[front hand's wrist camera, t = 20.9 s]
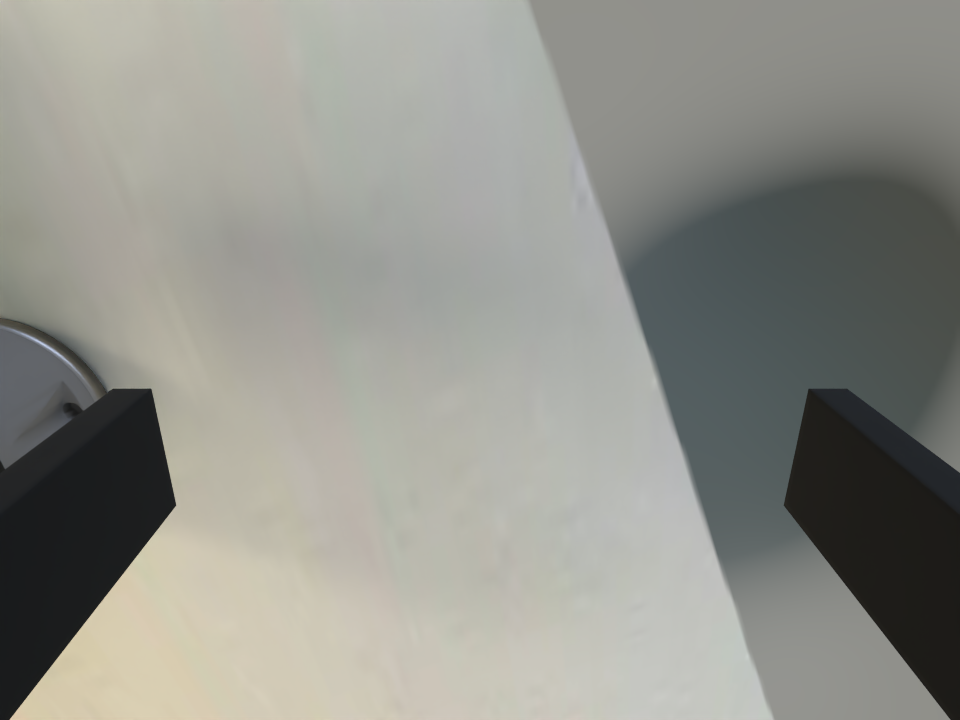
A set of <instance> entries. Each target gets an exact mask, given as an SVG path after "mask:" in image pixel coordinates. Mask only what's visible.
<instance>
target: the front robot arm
mask: <svg viewBox="0 0 960 720" xmlns="http://www.w3.org/2000/svg"><path fill="white" fill-rule="evenodd" d="M175 506H176V502H175V497H174V493H173V488H172V483H171V479H170V474H169V469H168V465H167V460H166V455H165V451H164V446H163V441H162V436H161V432H160V427H159V422H158V418H157V413H156V408H155V404H154V399H153V394H152V390H151V389H112V390H111V391H109V392H108V393H106V392H105V390H104V388H103V386H102V385H101V383H100V382H99V380H98V379H97V377H96V376H95V375H94V373H93V372H92V371H91V370H90V369H89V367H88V366H87V365H86V364H85V363H84V362H83V361H82V360H81V359H80V358H79V357H78V356H77V355H76V354H74V353H73V352H72V351H71V350H70V349H68V348H67V347H66V346H64V345H63V344H62V343H60V342H58V341H57V340H55V339H54V338H52V337H50V336H49V335H47V334H45V333H43V332H41V331H39V330H37V329H34V328H32V327H30V326H27V325H24V324H21V323H18V322H14V321H11V320H6V319H1V318H0V720H10V718H11V717H12V716H13V714H14V713H15V712H16V711H17V709H18V708H19V707H20V705H21V704H22V703H23V702H24V700H25V699H26V698H27V696H28V695H29V694H30V693H31V691H32V690H33V689H34V687H35V686H36V685H37V684H38V682H39V681H40V680H41V678H42V677H43V676H44V675H45V673H46V672H47V671H48V669H49V668H50V667H51V666H52V664H53V663H54V662H55V660H56V659H57V658H58V657H59V655H60V654H61V653H62V651H63V650H64V649H65V648H66V646H67V645H68V644H69V642H70V641H71V640H72V639H73V637H74V636H75V635H76V633H77V632H78V631H79V630H80V628H81V627H82V626H83V624H84V623H85V622H86V621H87V619H88V618H89V617H90V615H91V614H92V613H93V612H94V610H95V609H96V608H97V606H98V605H99V604H100V603H101V601H102V600H103V599H104V597H105V596H106V595H107V594H108V592H109V591H110V590H111V588H112V587H113V586H114V585H115V583H116V582H117V581H118V579H119V578H120V577H121V576H122V574H123V573H124V572H125V570H126V569H127V568H128V567H129V565H130V564H131V563H132V561H133V560H134V559H135V558H136V556H137V555H138V554H139V553H140V551H141V550H142V549H143V547H144V546H145V545H146V544H147V542H148V541H149V540H150V538H151V537H152V536H153V535H154V533H155V532H156V531H157V529H158V528H159V527H160V526H161V524H162V523H163V522H164V520H165V519H166V518H167V517H168V515H169V514H170V513H171V511H172V510H173V509H174V508H175ZM784 506H785V508H786V509H787V510H788V511H789V513H790V514H791V515H792V516H793V518H794V519H795V520H796V522H797V523H798V524H799V526H800V527H801V528H802V529H803V531H804V532H805V533H806V535H807V536H808V537H809V538H810V540H811V541H812V542H813V543H814V545H815V546H816V547H817V549H818V550H819V551H820V552H821V554H822V555H823V556H824V558H825V559H826V560H827V561H828V563H829V564H830V565H831V567H832V568H833V569H834V570H835V572H836V573H837V574H838V576H839V577H840V578H841V579H842V581H843V582H844V583H845V585H846V586H847V587H848V588H849V590H850V591H851V592H852V594H853V595H854V596H855V597H856V599H857V600H858V601H859V603H860V604H861V605H862V606H863V608H864V609H865V610H866V612H867V613H868V614H869V615H870V617H871V618H872V619H873V621H874V622H875V623H876V624H877V626H878V627H879V628H880V630H881V631H882V632H883V633H884V635H885V636H886V637H887V639H888V640H889V641H890V642H891V644H892V645H893V646H894V648H895V649H896V650H897V651H898V653H899V654H900V655H901V657H902V658H903V659H904V660H905V662H906V663H907V664H908V666H909V667H910V668H911V669H912V671H913V672H914V673H915V675H916V676H917V677H918V678H919V680H920V681H921V682H922V683H923V685H924V686H925V687H926V689H927V690H928V691H929V693H930V694H931V695H932V696H933V698H934V699H935V700H936V702H937V703H938V704H939V705H940V707H941V708H942V709H943V710H944V712H945V713H946V714H947V716H948V717H949V718H950V719H951V720H960V473H959V472H958V471H956V470H955V469H954V468H952V467H951V466H950V465H948V464H947V463H946V462H944V461H943V460H942V459H940V458H939V457H938V456H936V455H935V454H934V453H932V452H931V451H930V450H928V449H927V448H926V447H924V446H923V445H922V444H920V443H919V442H918V441H916V440H915V439H914V438H912V437H911V436H910V435H908V434H907V433H906V432H904V431H903V430H901V429H900V428H899V427H897V426H896V425H895V424H893V423H892V422H891V421H889V420H888V419H887V418H885V417H884V416H883V415H881V414H880V413H879V412H877V411H876V410H875V409H873V408H872V407H871V406H869V405H868V404H867V403H865V402H864V401H863V400H861V399H860V398H859V397H857V396H856V395H855V394H853V393H852V392H851V391H849V390H848V389H809V390H808V394H807V399H806V404H805V408H804V413H803V418H802V423H801V427H800V432H799V437H798V441H797V446H796V451H795V455H794V460H793V465H792V469H791V474H790V479H789V483H788V488H787V493H786V497H785V502H784Z"/></svg>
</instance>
